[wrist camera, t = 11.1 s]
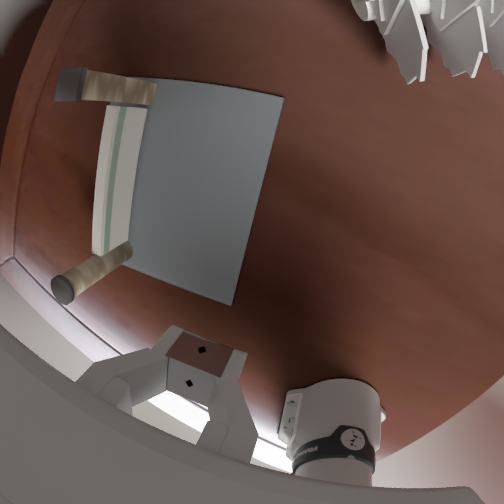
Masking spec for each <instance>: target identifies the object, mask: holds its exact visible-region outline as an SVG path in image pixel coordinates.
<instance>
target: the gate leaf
mask: <svg viewBox="0 0 504 504" xmlns="http://www.w3.org/2000/svg"><path fill="white" fill-rule="evenodd" d="M147 110H148V109H146V108H139V107H127V106H112V105H107V108H106V113H105V119H104V124H103V130H102V136H101V143H100V150H99V157H98V165H97V174H96V184H95V195H94V209H93V228H92V253H94V254H96V255H98V256H102V255H105V254H107V253H108V252H109V251H111V250H112V249H114V248H116V247H117V246H119V245H121V244H122V243H124V242H126V241H128V234H129V223H130V214H131V205H132V197H133V189H134V182H135V175H136V168H137V162H138V156H139V150H140V145H141V139H142V134H143V129H144V124H145V119H146V115H147Z"/></svg>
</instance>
